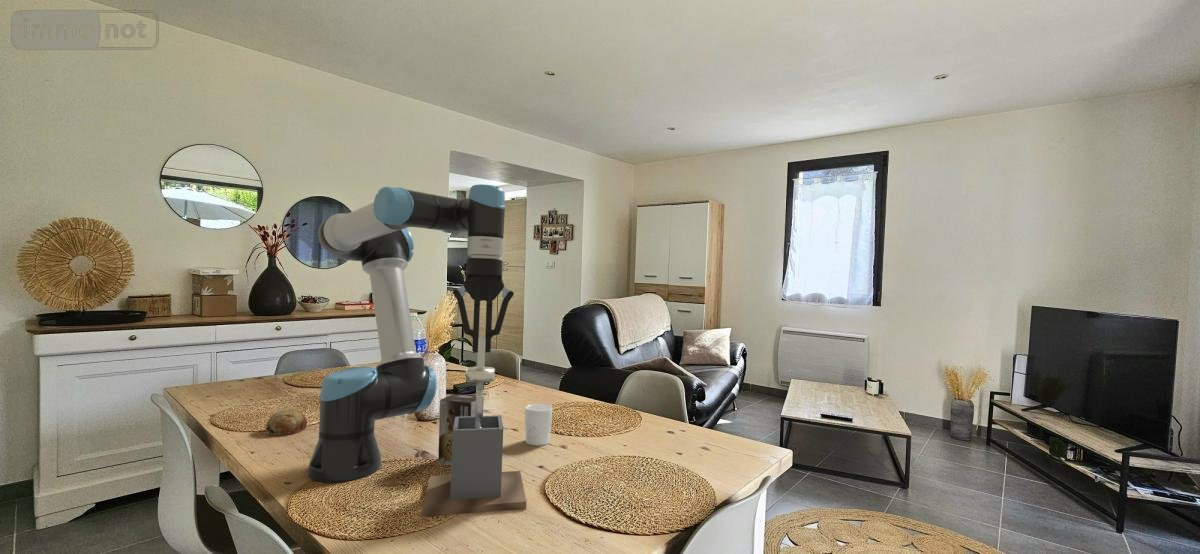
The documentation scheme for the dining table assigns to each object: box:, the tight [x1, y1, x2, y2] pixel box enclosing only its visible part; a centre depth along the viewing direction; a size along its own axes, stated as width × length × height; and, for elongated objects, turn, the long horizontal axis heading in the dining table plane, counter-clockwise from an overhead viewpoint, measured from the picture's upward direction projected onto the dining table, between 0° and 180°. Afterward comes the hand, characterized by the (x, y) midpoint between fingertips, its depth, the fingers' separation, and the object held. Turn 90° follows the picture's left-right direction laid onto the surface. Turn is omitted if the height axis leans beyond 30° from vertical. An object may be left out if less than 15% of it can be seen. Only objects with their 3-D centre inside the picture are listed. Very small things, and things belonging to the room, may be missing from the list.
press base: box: [421, 470, 527, 518], centre depth 102 cm, size 20×16×2 cm
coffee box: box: [437, 393, 485, 466], centre depth 120 cm, size 9×6×16 cm
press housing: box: [450, 414, 504, 501], centre depth 102 cm, size 10×10×14 cm
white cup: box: [524, 403, 553, 447], centre depth 137 cm, size 8×8×10 cm
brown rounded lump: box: [265, 408, 308, 437], centre depth 139 cm, size 10×10×8 cm
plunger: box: [465, 366, 496, 429], centre depth 102 cm, size 8×8×15 cm
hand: (480, 367), depth 102 cm, fingers closed
